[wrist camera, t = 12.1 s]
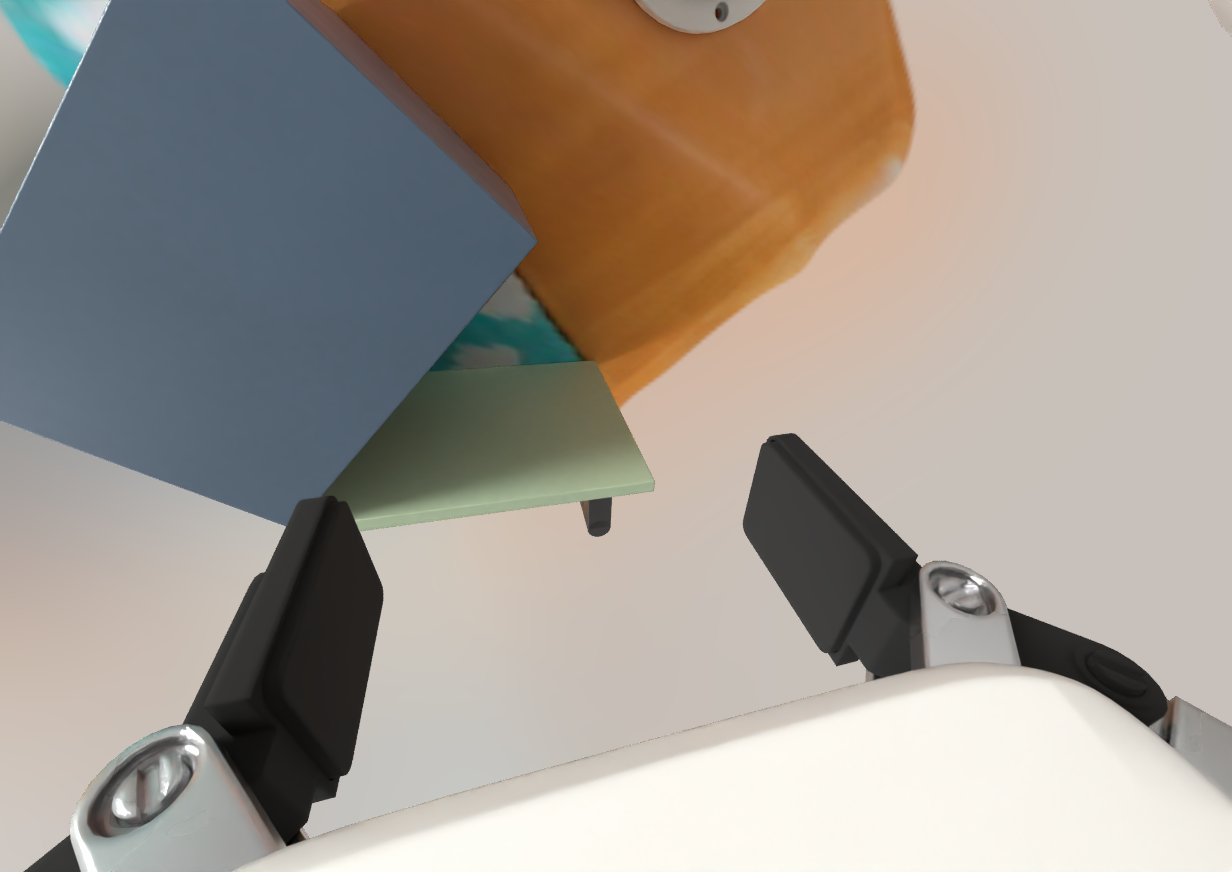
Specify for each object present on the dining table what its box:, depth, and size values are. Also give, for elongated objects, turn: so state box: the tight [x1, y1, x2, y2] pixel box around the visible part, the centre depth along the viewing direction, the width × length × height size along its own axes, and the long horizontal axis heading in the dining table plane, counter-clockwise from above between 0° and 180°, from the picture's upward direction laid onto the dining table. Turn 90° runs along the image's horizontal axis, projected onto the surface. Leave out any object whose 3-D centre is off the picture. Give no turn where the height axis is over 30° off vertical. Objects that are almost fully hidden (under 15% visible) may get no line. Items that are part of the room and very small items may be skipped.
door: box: [322, 360, 655, 537], centre depth 33 cm, size 7×18×17 cm, turn 88°
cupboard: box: [0, 0, 538, 526], centre depth 23 cm, size 12×18×17 cm, turn 134°
